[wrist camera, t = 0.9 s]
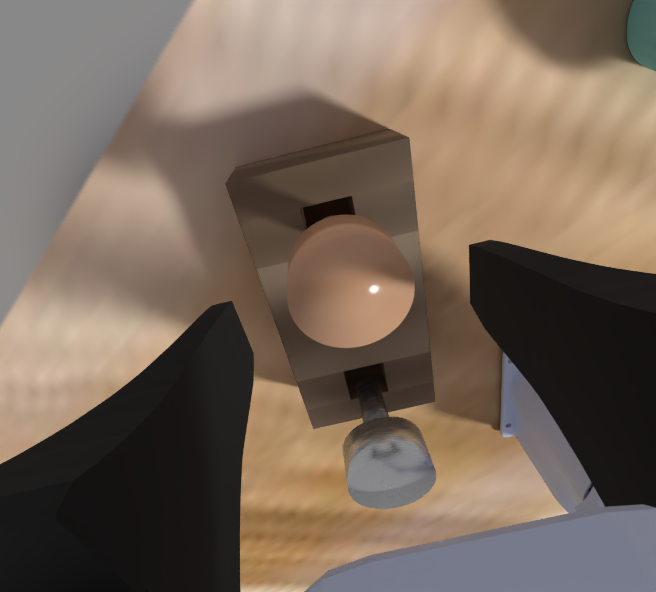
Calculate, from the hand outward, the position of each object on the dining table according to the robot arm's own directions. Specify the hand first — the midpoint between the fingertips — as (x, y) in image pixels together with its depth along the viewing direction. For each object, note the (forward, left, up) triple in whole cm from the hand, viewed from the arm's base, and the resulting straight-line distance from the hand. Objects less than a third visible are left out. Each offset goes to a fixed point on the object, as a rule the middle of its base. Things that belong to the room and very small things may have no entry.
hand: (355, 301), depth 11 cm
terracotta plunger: (0, 0, -6) cm, 6 cm away
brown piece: (-5, 0, -10) cm, 12 cm away
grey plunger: (-10, 0, -6) cm, 12 cm away
